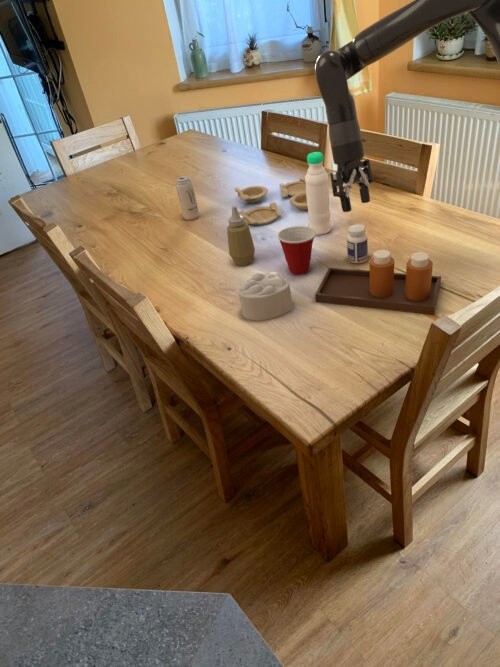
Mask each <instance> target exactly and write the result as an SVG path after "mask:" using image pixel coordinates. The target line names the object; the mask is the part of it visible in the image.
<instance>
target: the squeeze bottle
mask: <svg viewBox="0 0 500 667" xmlns="http://www.w3.org/2000/svg"><path fill="white" fill-rule="evenodd" d="M226 234H227V242H228V243H227V244H228V254H229V256H230V258H231V260H232V261H233V263H234V265H237V266H247V265H249V264H251V263H252V262H253V261H254V257H255V251H256V247H255V244H254V241H253V237H252V233H251V229H250V225H249V224H248V223H246V222H245V221H244V217H243V216H241V215H239V211H238V208H237V206H236V205H233V206H231V216H230V217H229V218H228V225H227V226H226Z"/></svg>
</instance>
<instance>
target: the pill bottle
mask: <svg viewBox="0 0 500 667" xmlns="http://www.w3.org/2000/svg"><path fill="white" fill-rule="evenodd" d="M347 231H348V235H347V237H346V248H347V249H346V250H347V251H346V252H347V260H348V262H350V263H352V264H362V263H365V262H367V260H368V258H369V250H368V247H369V246H368V235H367V233H366V226H365V225H363V224H353V225H350V226H348V230H347Z"/></svg>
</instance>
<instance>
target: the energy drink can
mask: <svg viewBox="0 0 500 667" xmlns="http://www.w3.org/2000/svg"><path fill="white" fill-rule="evenodd" d="M175 180H176V182H175V188H176V192H177V196H178V200H179V204H180V208H181V212H182V216H183V218H184V219H185V221H194V220H197V219H198V218H199V216H200V210H199V206H198V202H197V196H196V193H195V189H194V184H193V181H192V179H191V177H190V176H189V175H182V176H179V177H177V178H176V179H175Z"/></svg>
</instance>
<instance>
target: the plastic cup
mask: <svg viewBox="0 0 500 667" xmlns="http://www.w3.org/2000/svg"><path fill="white" fill-rule="evenodd" d="M316 236H317V235H316V231H315V230H314V229H312V228H310V227H309V226H306V225H305V226H304V225H293V226H288V227H284V228H282V229H280V230H279V231H278V232H277V234H276V237H277V239H278V240H279V243H280V246H281V247H282V252H283V256H284V258H285V262H286V264H287V267H288V270H289V272H290V274H292V275H294V276H295V275H296V276H300V275H305V274H307V273H308V272H309V271H310V269H311V268H310V267H311V261H312V260H311V259H312V252H313V243H314V240H315V238H316Z"/></svg>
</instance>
